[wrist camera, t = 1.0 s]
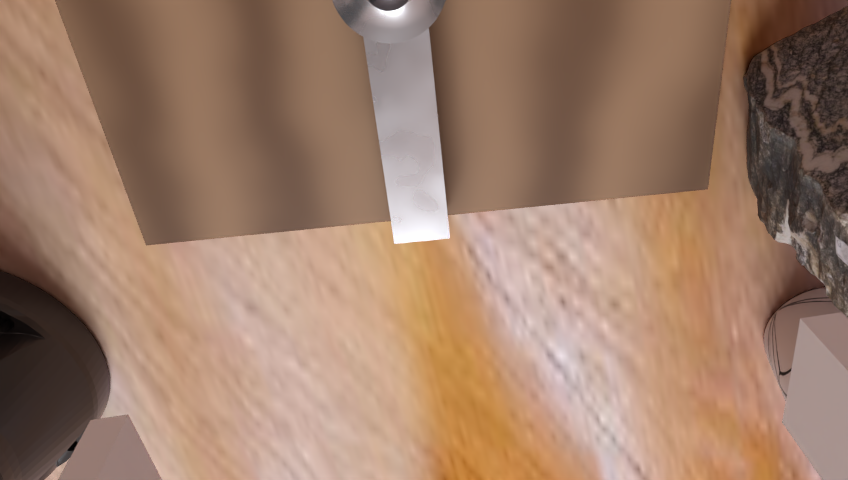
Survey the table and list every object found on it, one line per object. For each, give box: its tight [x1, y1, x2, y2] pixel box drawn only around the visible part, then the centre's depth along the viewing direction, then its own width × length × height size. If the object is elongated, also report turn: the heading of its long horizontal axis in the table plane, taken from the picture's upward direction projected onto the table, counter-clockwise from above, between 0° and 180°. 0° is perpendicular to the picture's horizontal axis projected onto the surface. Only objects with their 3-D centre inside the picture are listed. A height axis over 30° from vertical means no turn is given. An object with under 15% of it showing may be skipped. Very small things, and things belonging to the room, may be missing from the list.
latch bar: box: [332, 0, 450, 244], centre depth 27 cm, size 14×4×3 cm, turn 6°
